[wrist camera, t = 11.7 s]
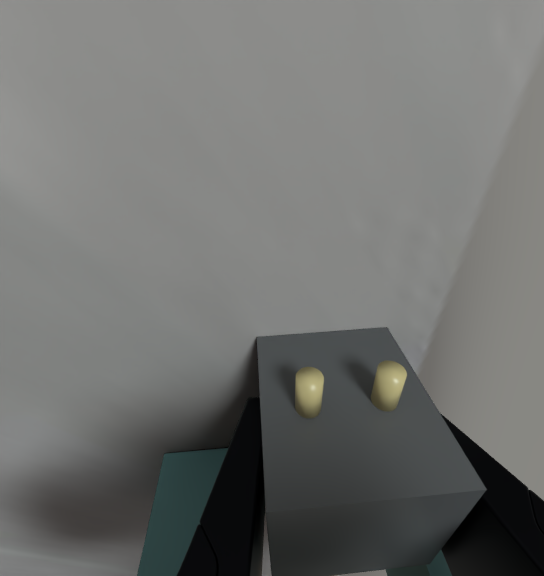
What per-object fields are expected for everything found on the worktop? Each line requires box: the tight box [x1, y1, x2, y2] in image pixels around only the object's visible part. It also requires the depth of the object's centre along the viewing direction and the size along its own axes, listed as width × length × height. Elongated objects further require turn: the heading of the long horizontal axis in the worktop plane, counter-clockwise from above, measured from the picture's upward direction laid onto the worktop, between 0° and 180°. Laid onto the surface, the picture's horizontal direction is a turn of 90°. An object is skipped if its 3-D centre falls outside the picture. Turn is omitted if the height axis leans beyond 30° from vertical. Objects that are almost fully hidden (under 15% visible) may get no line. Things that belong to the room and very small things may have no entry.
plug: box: [257, 327, 487, 576], centre depth 10 cm, size 14×4×4 cm, turn 2°
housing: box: [137, 448, 452, 576], centre depth 11 cm, size 4×12×6 cm, turn 92°
